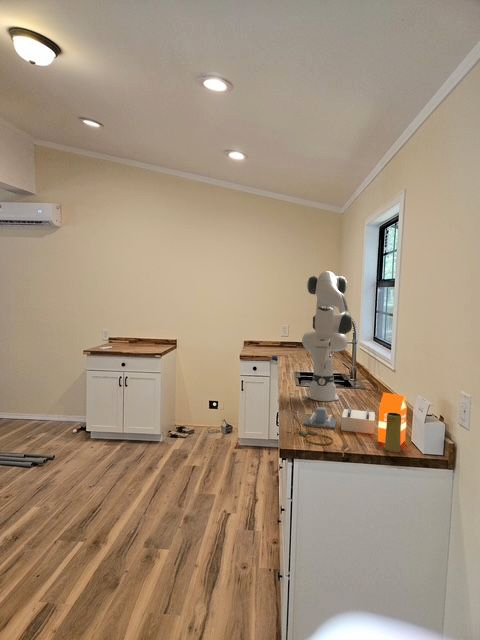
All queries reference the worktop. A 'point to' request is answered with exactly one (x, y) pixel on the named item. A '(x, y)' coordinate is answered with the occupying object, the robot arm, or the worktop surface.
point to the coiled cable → (314, 434)
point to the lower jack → (329, 422)
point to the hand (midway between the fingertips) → (322, 370)
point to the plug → (320, 414)
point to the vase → (393, 432)
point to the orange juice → (391, 405)
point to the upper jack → (358, 421)
